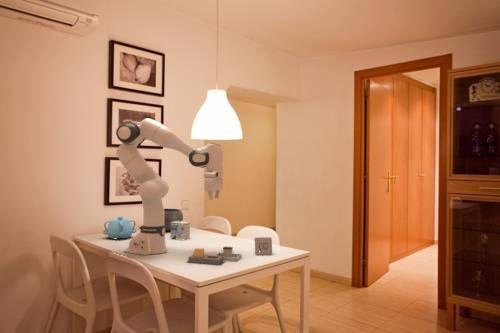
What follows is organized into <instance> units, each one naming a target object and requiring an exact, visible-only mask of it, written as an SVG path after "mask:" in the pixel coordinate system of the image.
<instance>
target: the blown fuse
mask: <svg viewBox="0 0 500 333" xmlns="http://www.w3.org/2000/svg"><path fill="white" fill-rule="evenodd" d="M222 253H223V257H230V258H233V257H232V253H233V246H223V247H222Z"/></svg>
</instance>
